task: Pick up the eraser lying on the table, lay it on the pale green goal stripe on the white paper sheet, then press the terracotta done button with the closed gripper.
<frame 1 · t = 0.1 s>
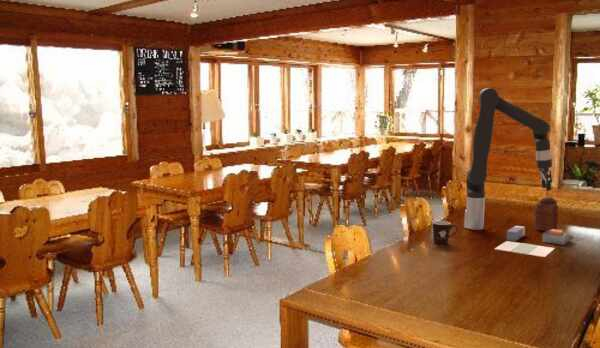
hand: (546, 189, 288), 22 cm above the table, tool pointing down, fingers open, 8 cm apart
eraser: (515, 237, 276), on the table
button cap: (556, 233, 268), point 4 cm above the table, slide at 0.0 cm
button housing: (555, 241, 268), on the table
wooden figurine: (545, 230, 292), on the table
paper sheet: (524, 249, 254), on the table
coffee mug: (443, 243, 265), on the table
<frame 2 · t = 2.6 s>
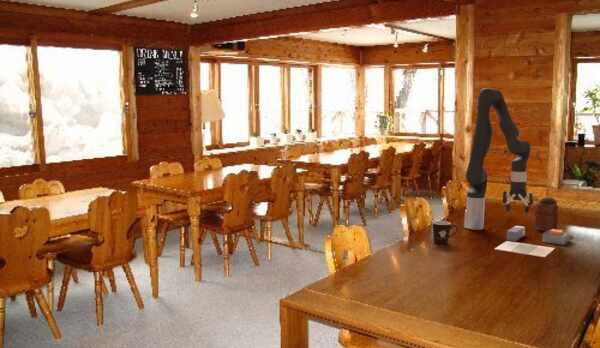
hand: (517, 212, 274), 13 cm above the table, tool pointing down, fingers open, 8 cm apart
nothing on the table moved.
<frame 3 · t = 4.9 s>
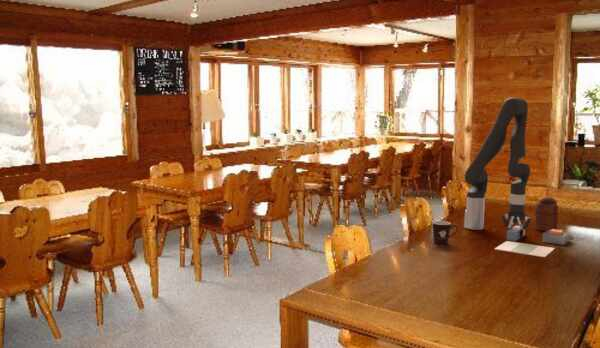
hand: (515, 235, 276), 1 cm above the table, tool pointing down, fingers closed on eraser, 4 cm apart
eraser: (515, 237, 276), on the table, touching gripper
everything else where it was.
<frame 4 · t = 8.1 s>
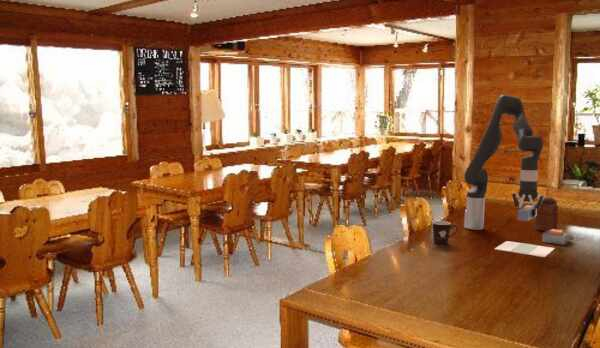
hand: (527, 216, 252), 16 cm above the table, tool pointing down, fingers closed on eraser, 4 cm apart
eraser: (527, 217, 252), point 15 cm above the table, touching gripper
everything else where it was.
when the fingers open (3 cm above the table, at t = 11.6 s): eraser drops 1 cm, resting on paper sheet.
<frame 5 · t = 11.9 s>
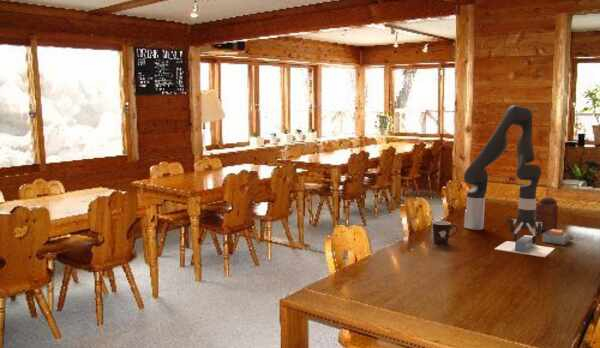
hand: (525, 242, 254), 3 cm above the table, tool pointing down, fingers open, 7 cm apart
eraser: (524, 248, 254), resting on paper sheet
everything else where it was.
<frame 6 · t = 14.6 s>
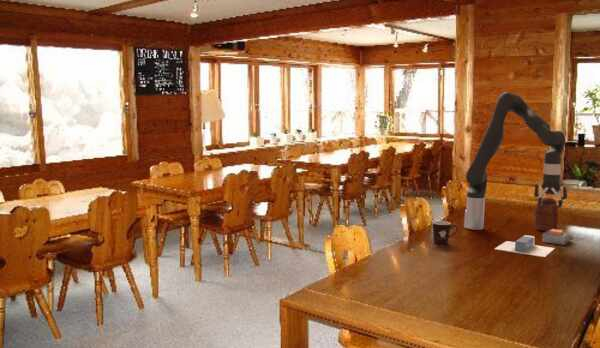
hand: (549, 206, 262), 18 cm above the table, tool pointing down, fingers open, 8 cm apart
nothing on the table moved.
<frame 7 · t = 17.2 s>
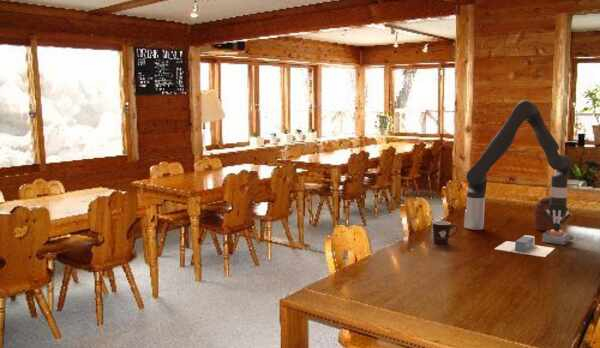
hand: (556, 230, 268), 5 cm above the table, tool pointing down, fingers closed
button cap: (556, 233, 268), point 4 cm above the table, slide at 0.2 cm, touching gripper
everything else where it was.
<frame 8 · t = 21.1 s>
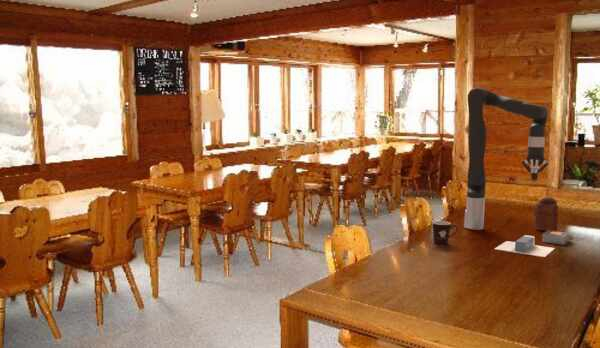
hand: (534, 180, 273), 29 cm above the table, tool pointing down, fingers closed
button cap: (556, 236, 268), point 3 cm above the table, slide at 1.3 cm
everything else where it was.
at the end: eraser inside the target area on the paper sheet (0.1 cm from its centre), point 0.4 cm above the paper sheet's base; eraser tilted 0°; button cap slide at 1.3 cm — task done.
